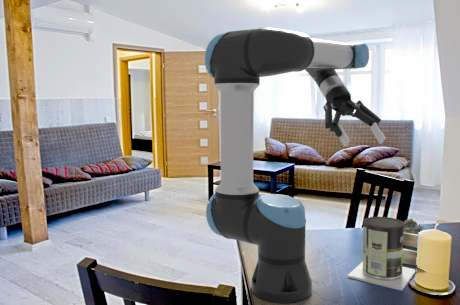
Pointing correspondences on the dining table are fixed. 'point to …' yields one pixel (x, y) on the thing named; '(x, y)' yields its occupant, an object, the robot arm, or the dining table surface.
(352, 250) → the dining table surface
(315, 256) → the dining table surface
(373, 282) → the ceramic tile
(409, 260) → the crate frame
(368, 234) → the coffee can
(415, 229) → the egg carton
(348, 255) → the dining table surface
